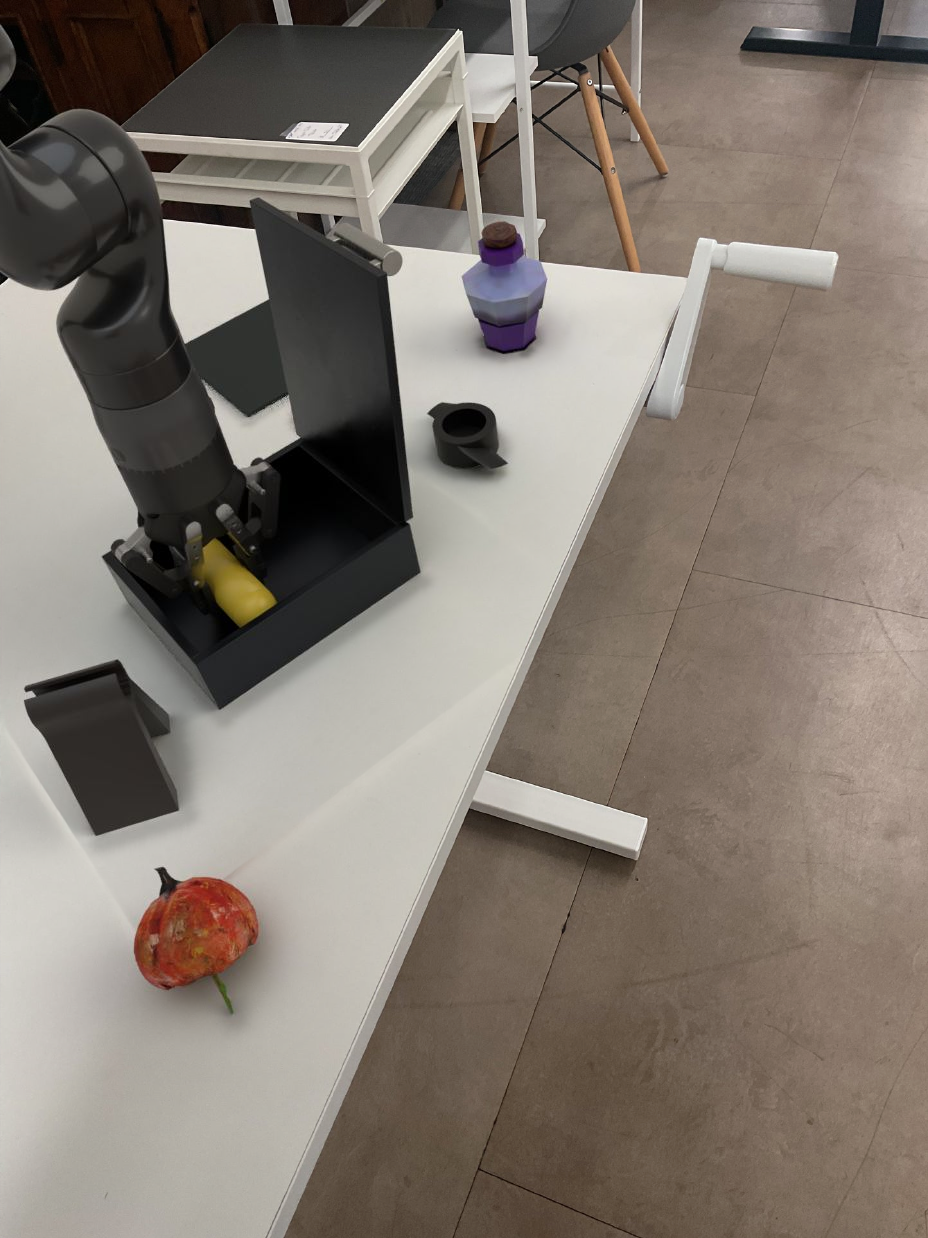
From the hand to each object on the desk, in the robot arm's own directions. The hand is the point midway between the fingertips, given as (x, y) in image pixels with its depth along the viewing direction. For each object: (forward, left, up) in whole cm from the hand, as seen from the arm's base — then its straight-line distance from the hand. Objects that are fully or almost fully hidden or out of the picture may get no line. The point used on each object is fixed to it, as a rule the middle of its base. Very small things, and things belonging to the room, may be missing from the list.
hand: (233, 595), depth 82 cm
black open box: (+3, 0, -2) cm, 4 cm away
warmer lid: (+14, 0, +15) cm, 20 cm away
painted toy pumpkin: (-17, -24, -2) cm, 29 cm away
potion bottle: (+40, +12, -2) cm, 42 cm away
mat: (+22, +30, -2) cm, 37 cm away
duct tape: (+26, +2, -2) cm, 26 cm away
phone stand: (-14, -8, -2) cm, 17 cm away
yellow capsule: (0, 0, 0) cm, 0 cm away
